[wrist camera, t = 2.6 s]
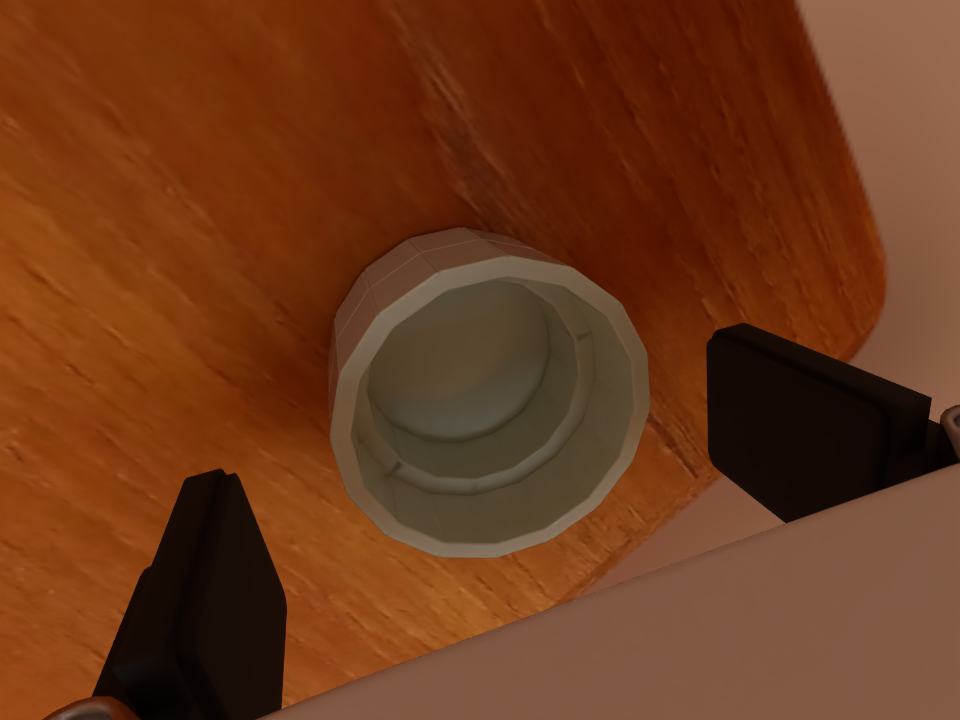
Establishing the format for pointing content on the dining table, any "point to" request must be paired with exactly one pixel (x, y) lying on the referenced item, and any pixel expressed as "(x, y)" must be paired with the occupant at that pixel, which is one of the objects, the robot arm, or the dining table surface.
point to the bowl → (481, 394)
